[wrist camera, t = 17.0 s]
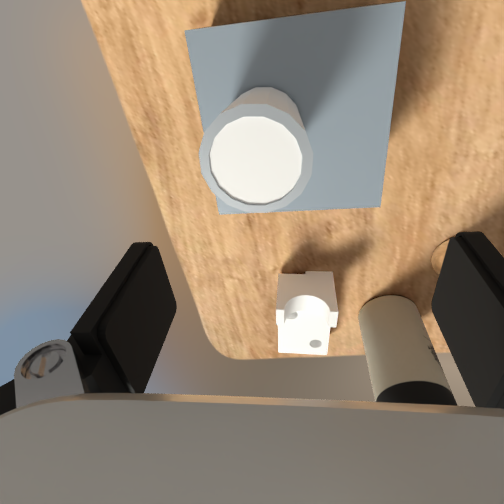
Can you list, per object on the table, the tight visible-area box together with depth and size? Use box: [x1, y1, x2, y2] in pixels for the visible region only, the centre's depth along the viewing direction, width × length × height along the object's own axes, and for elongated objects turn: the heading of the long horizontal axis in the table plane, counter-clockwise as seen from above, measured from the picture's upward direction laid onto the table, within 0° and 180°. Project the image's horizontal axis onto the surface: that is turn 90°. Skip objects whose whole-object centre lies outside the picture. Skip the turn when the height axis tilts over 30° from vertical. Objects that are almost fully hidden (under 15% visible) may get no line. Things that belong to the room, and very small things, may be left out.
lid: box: [185, 1, 406, 214], centre depth 26 cm, size 14×14×1 cm
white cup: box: [199, 87, 313, 213], centre depth 22 cm, size 7×7×7 cm
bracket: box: [276, 271, 338, 355], centre depth 45 cm, size 13×7×8 cm, turn 3°
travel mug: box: [358, 295, 457, 406], centre depth 40 cm, size 8×8×18 cm
